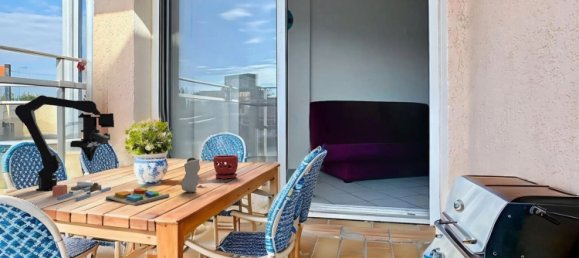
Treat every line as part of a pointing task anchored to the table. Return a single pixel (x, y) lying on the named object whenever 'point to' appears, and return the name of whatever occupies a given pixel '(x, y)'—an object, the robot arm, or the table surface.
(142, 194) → the shape sorting puzzle
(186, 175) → the figurine
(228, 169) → the plant pot
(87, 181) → the dome
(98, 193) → the lane
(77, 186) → the dome base
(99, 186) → the pawn
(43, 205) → the table surface
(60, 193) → the die
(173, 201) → the table surface
